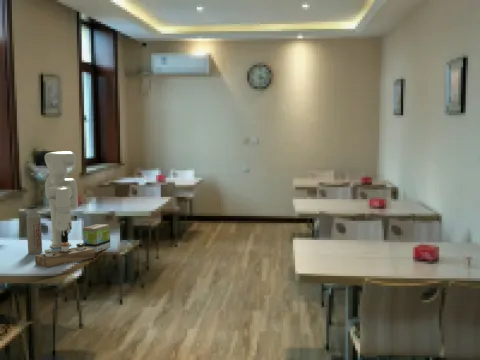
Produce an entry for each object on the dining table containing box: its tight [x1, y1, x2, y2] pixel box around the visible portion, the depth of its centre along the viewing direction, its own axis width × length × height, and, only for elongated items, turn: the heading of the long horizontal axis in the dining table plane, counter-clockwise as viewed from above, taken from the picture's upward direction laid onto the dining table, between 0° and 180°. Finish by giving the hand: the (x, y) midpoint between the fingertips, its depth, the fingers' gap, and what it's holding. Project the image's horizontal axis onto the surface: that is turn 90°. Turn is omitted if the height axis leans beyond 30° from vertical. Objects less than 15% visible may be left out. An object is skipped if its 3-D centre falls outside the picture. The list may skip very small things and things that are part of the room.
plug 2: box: [76, 242, 85, 250], centre depth 324 cm, size 5×5×7 cm
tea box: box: [82, 223, 111, 253], centre depth 344 cm, size 15×10×15 cm
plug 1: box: [44, 249, 54, 257], centre depth 309 cm, size 5×5×7 cm
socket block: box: [34, 246, 96, 268], centre depth 317 cm, size 12×30×5 cm, turn 139°
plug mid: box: [60, 242, 70, 254], centre depth 317 cm, size 5×5×7 cm
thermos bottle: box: [25, 205, 43, 255], centre depth 338 cm, size 8×8×28 cm
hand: (64, 242), depth 317 cm, fingers closed
